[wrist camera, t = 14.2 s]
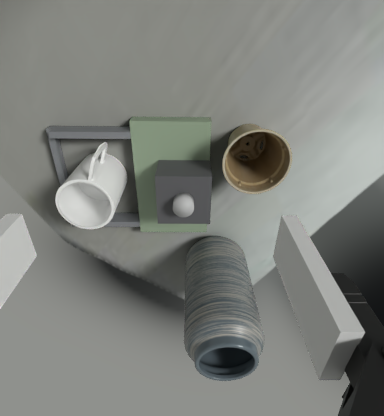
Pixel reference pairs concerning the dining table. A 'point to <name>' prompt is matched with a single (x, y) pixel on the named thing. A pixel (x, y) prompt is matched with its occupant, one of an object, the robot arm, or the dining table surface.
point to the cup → (92, 190)
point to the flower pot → (256, 159)
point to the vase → (221, 311)
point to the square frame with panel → (157, 170)
